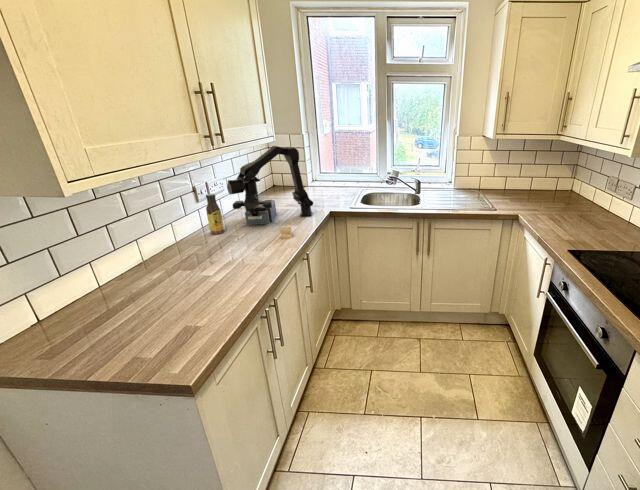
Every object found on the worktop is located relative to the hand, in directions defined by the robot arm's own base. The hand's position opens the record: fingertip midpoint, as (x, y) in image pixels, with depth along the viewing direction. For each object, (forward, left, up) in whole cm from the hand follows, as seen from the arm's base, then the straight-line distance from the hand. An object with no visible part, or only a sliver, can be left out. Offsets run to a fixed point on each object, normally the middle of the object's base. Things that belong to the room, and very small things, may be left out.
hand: (256, 219), depth 166 cm
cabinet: (-14, 0, -4) cm, 15 cm away
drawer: (-6, 0, -3) cm, 7 cm away
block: (+16, +17, -4) cm, 24 cm away
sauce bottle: (+5, -18, -4) cm, 19 cm away
